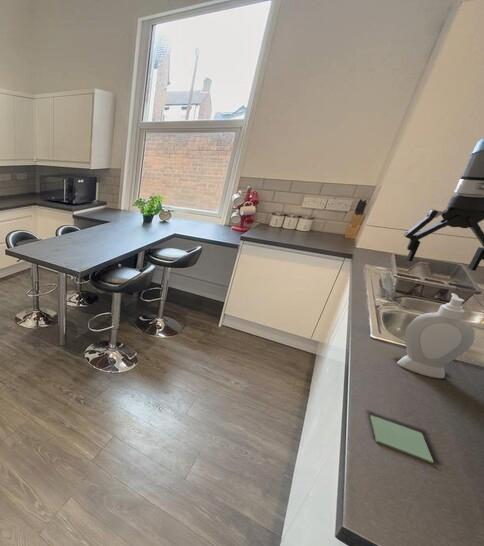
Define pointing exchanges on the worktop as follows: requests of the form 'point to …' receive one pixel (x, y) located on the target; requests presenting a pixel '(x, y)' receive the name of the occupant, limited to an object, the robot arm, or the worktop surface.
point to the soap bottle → (437, 339)
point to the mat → (401, 439)
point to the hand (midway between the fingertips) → (439, 264)
